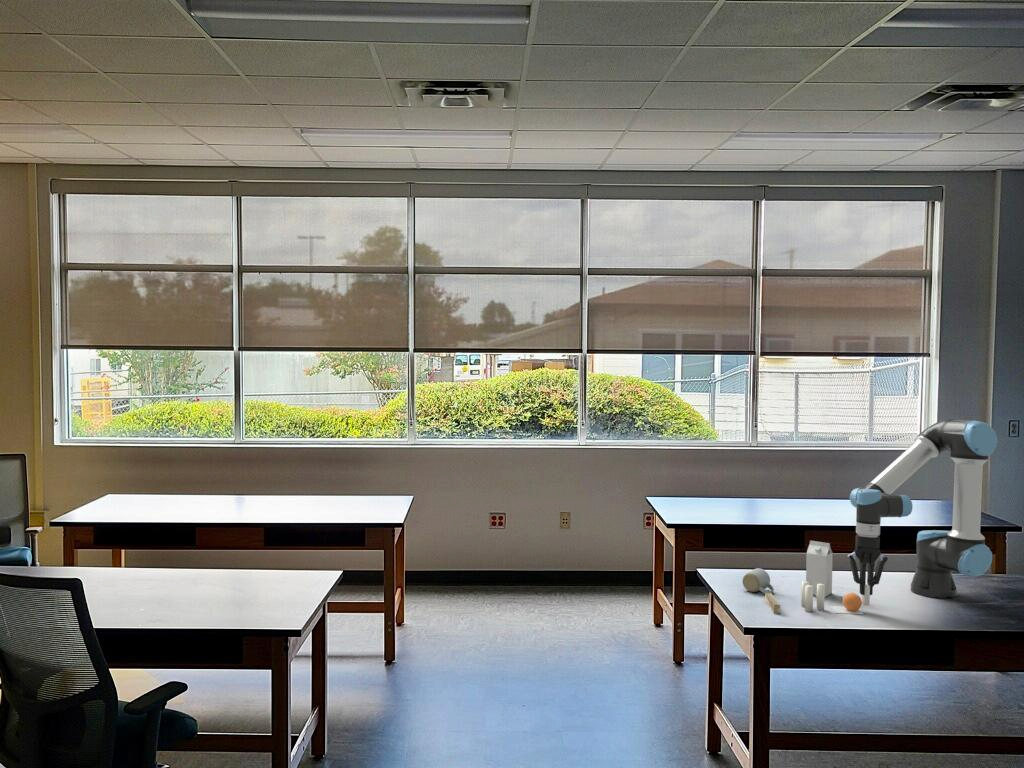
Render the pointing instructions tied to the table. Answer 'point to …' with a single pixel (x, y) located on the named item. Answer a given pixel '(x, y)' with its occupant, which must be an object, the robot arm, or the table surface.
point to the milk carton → (819, 566)
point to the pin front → (820, 596)
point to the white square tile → (844, 610)
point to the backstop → (772, 603)
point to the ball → (852, 601)
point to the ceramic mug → (757, 581)
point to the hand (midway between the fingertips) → (865, 604)
